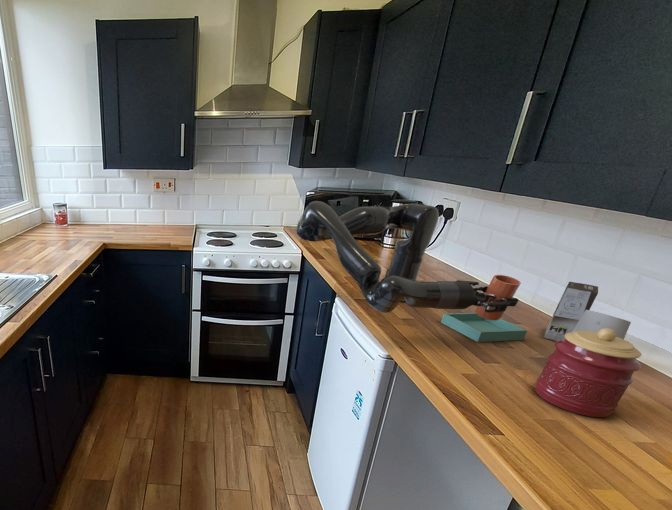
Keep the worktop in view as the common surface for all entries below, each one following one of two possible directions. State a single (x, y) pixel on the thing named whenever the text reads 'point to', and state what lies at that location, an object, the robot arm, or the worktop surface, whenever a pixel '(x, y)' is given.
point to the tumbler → (499, 294)
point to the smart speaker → (602, 323)
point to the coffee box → (570, 309)
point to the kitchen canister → (588, 372)
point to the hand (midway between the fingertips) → (506, 296)
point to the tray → (483, 327)
